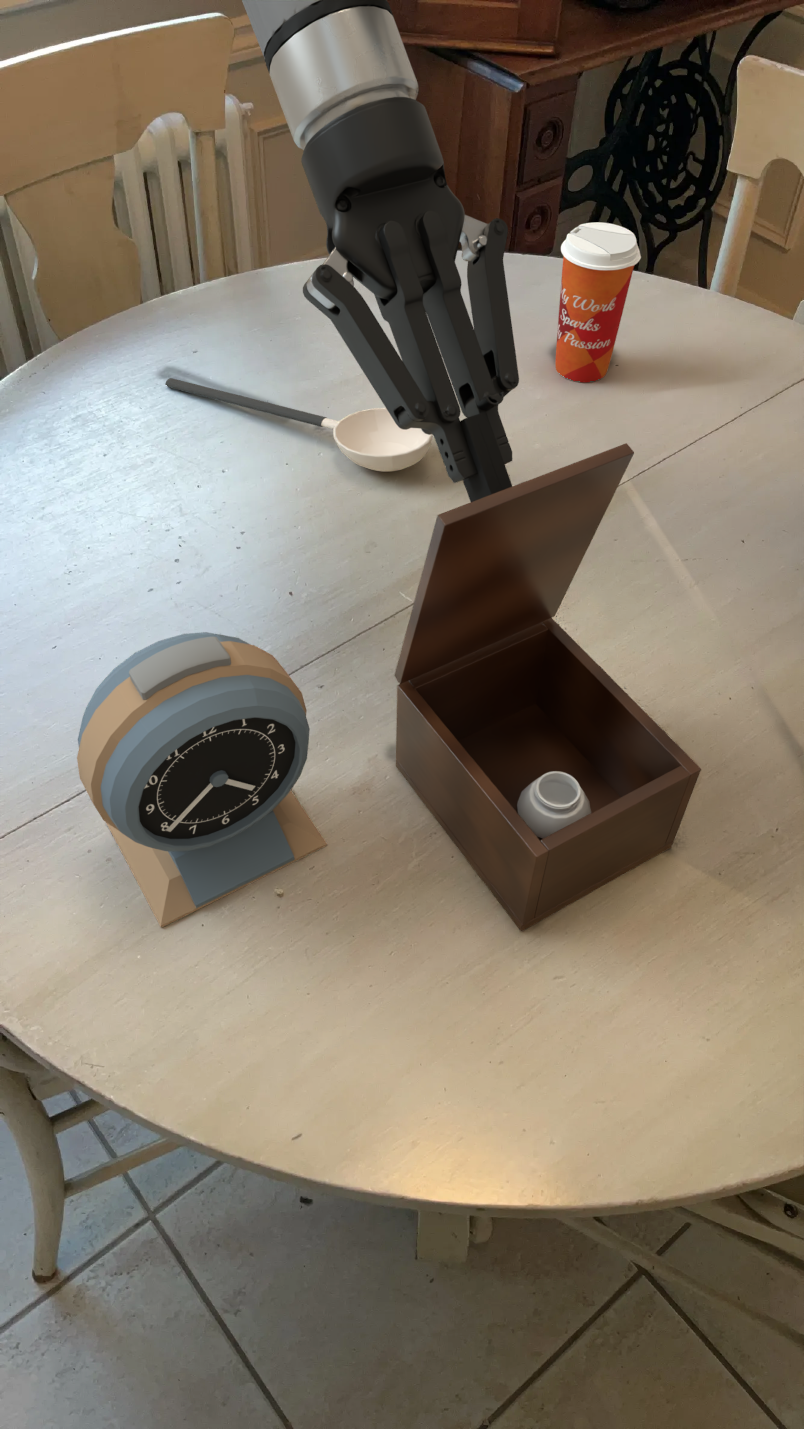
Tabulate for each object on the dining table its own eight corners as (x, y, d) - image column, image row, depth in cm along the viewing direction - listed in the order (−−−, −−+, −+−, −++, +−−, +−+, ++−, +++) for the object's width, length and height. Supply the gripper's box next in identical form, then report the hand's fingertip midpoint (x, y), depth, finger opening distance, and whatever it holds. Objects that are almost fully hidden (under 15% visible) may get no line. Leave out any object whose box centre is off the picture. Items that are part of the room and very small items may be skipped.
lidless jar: (504, 798, 74) (538, 854, 71) (508, 773, 72) (543, 829, 69) (566, 776, 75) (602, 829, 72) (572, 750, 73) (609, 804, 70)
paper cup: (531, 372, 111) (548, 241, 101) (567, 341, 116) (586, 212, 105) (597, 396, 109) (621, 264, 98) (631, 364, 113) (657, 234, 102)
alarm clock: (146, 935, 68) (88, 766, 54) (91, 827, 73) (26, 649, 60) (340, 839, 73) (330, 662, 59) (275, 744, 78) (253, 563, 65)
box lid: (635, 452, 59) (626, 442, 60) (445, 525, 55) (437, 514, 55) (555, 616, 74) (548, 607, 74) (399, 684, 70) (393, 675, 70)
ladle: (411, 496, 96) (405, 455, 93) (156, 435, 109) (144, 397, 106) (451, 450, 101) (447, 409, 98) (202, 396, 114) (192, 359, 110)
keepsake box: (672, 847, 73) (701, 768, 66) (521, 932, 68) (536, 857, 61) (536, 699, 81) (551, 616, 75) (395, 766, 77) (396, 684, 70)
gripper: (430, 138, 65) (558, 503, 68) (238, 182, 60) (385, 571, 64) (486, 69, 58) (624, 480, 61) (273, 113, 53) (436, 554, 57)
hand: (502, 526), depth 62 cm, fingers closed
